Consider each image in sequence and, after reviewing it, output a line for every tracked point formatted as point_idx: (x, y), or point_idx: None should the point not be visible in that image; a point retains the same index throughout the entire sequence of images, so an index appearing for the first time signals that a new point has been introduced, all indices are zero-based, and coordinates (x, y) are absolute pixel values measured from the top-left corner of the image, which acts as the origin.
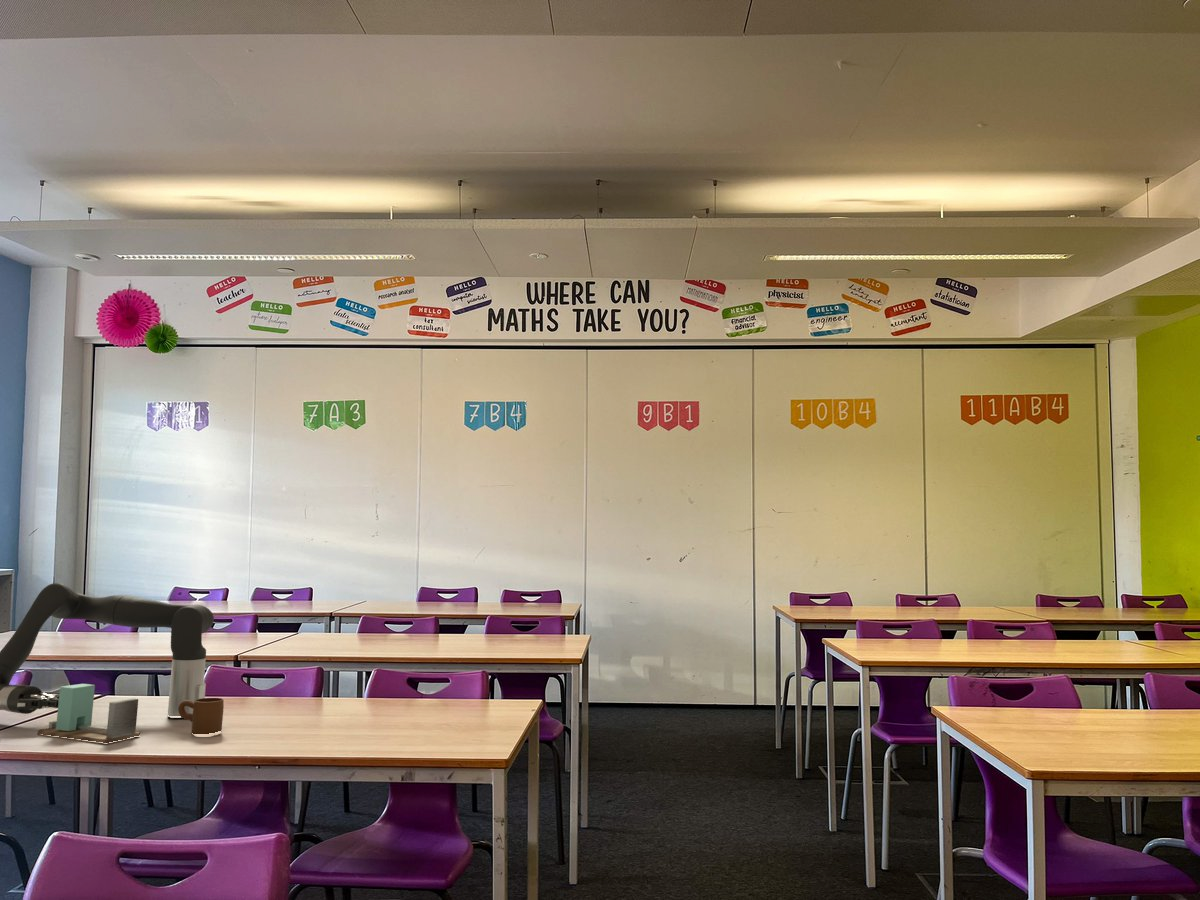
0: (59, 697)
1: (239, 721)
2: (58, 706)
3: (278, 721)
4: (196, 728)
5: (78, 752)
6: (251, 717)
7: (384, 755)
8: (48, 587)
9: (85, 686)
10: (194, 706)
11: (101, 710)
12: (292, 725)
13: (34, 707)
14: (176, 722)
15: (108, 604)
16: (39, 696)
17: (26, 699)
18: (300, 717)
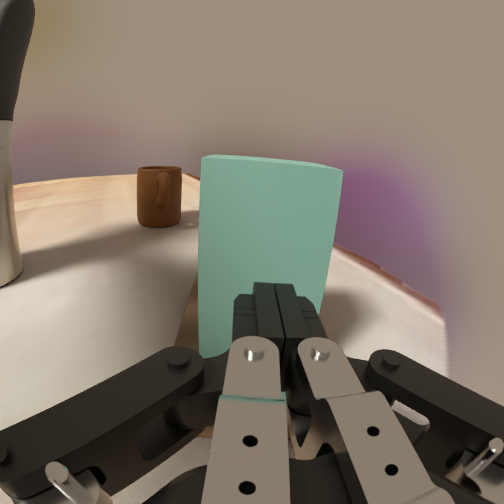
0: (334, 227)
1: (56, 228)
2: (327, 272)
3: (63, 213)
4: (180, 208)
5: (345, 257)
6: (28, 229)
7: (195, 181)
8: None
9: (259, 157)
10: (177, 176)
11: None
12: (89, 205)
13: (402, 418)
14: (51, 265)
15: None
16: (391, 411)
17: (493, 428)
18: (41, 211)
